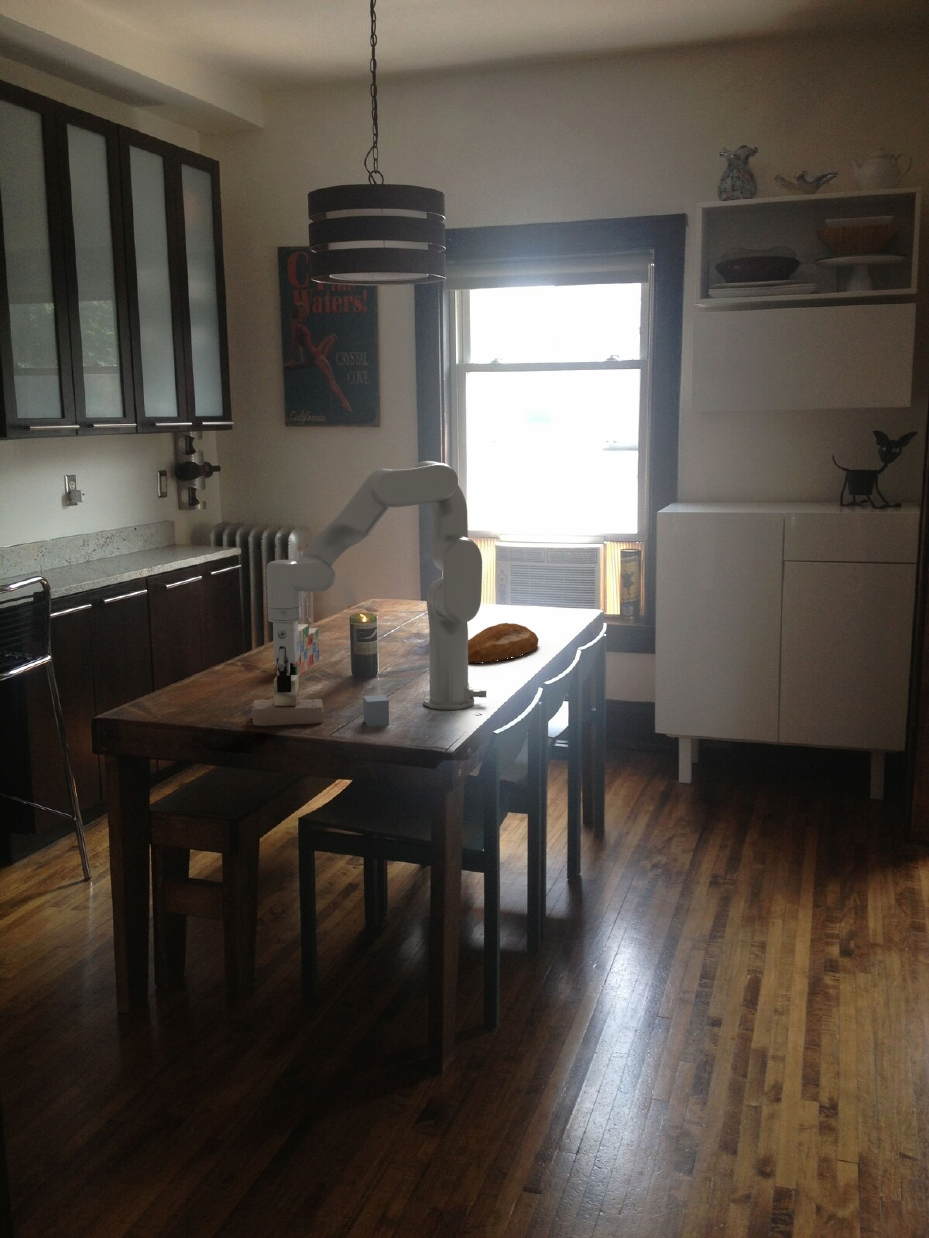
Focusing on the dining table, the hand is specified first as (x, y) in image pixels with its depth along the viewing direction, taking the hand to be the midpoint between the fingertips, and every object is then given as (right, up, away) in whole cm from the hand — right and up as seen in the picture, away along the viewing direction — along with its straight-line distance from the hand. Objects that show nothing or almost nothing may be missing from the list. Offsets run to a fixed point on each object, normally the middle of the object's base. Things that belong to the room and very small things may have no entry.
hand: (286, 687), depth 258 cm
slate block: (+21, -8, -1) cm, 23 cm away
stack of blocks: (-5, +2, +53) cm, 53 cm away
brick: (0, -8, +2) cm, 9 cm away
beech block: (0, -4, +1) cm, 4 cm away
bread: (+52, +5, +70) cm, 88 cm away
